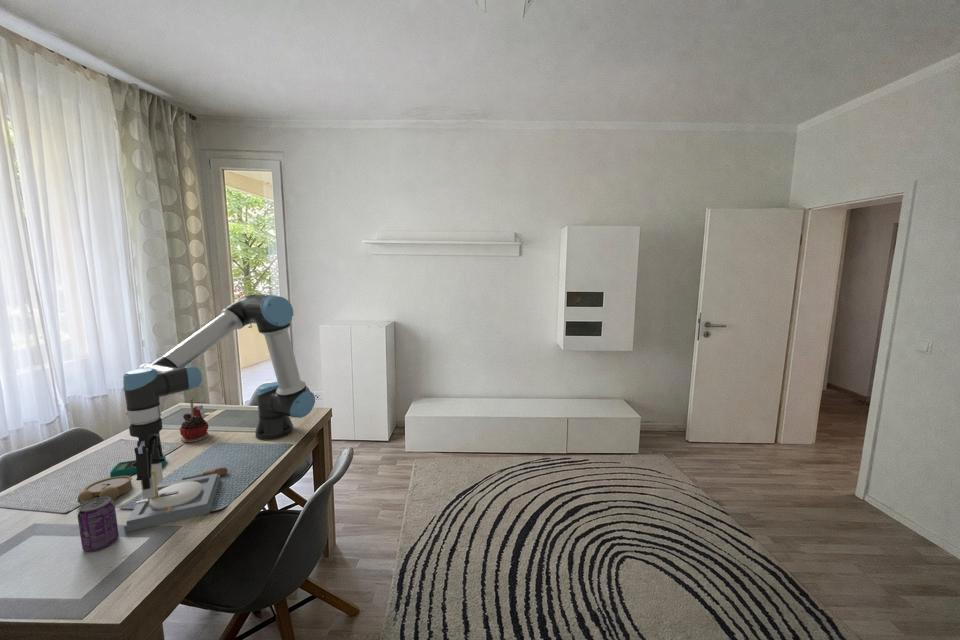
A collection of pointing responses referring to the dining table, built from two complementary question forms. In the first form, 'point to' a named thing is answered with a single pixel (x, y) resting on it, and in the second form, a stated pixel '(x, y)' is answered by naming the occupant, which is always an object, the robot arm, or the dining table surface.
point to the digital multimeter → (127, 468)
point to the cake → (194, 425)
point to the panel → (199, 506)
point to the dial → (174, 494)
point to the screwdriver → (209, 473)
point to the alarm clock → (106, 489)
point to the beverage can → (97, 523)
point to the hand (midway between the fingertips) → (153, 489)
